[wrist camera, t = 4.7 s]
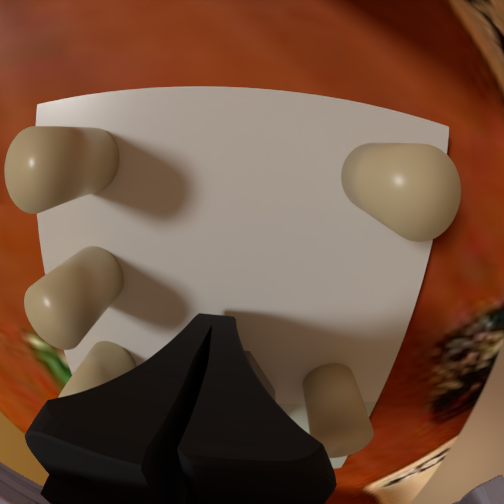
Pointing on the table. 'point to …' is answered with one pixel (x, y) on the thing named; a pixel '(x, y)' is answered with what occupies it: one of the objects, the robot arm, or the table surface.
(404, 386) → the table surface
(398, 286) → the board
